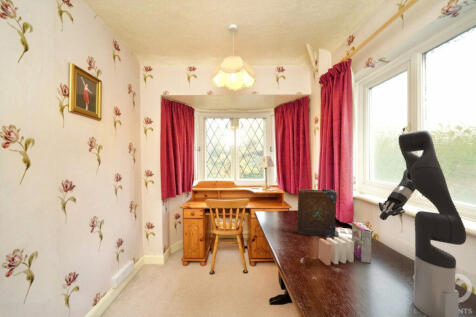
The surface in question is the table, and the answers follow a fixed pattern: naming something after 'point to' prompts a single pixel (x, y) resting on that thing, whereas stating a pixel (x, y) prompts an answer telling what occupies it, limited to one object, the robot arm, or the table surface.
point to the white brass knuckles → (344, 233)
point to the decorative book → (316, 212)
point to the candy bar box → (362, 241)
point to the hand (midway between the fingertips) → (381, 218)
